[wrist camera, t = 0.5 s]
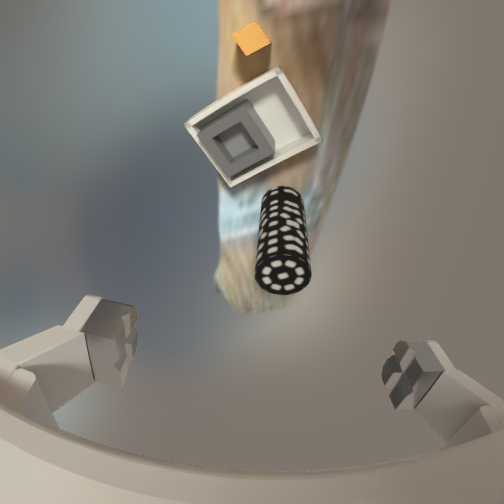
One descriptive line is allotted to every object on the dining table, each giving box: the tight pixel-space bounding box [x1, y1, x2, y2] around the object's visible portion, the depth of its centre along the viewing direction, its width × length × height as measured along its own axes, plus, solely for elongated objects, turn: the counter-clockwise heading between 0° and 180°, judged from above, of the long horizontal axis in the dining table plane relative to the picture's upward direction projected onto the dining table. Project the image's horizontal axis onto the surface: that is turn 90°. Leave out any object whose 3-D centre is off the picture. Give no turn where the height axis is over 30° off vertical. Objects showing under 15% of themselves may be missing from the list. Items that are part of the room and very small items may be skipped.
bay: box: [184, 65, 323, 188], centre depth 46 cm, size 18×14×7 cm
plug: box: [232, 21, 271, 56], centre depth 37 cm, size 4×4×7 cm
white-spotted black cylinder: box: [255, 186, 311, 295], centre depth 52 cm, size 8×8×20 cm
